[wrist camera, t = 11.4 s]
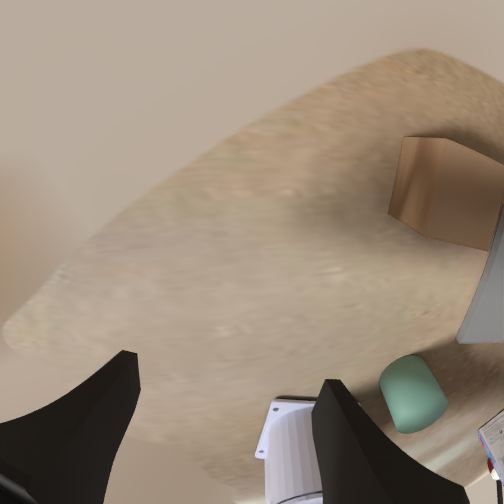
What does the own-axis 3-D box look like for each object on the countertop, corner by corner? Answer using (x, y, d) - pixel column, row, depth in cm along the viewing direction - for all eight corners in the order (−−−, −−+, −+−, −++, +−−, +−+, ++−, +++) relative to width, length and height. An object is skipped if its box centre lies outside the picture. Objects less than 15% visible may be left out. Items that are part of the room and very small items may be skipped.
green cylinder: (412, 391, 23) (431, 429, 19) (371, 393, 23) (386, 436, 19) (432, 354, 22) (457, 392, 17) (390, 355, 22) (412, 397, 17)
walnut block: (445, 227, 18) (488, 251, 14) (387, 213, 18) (425, 236, 13) (461, 158, 17) (508, 167, 12) (402, 136, 16) (446, 138, 12)
